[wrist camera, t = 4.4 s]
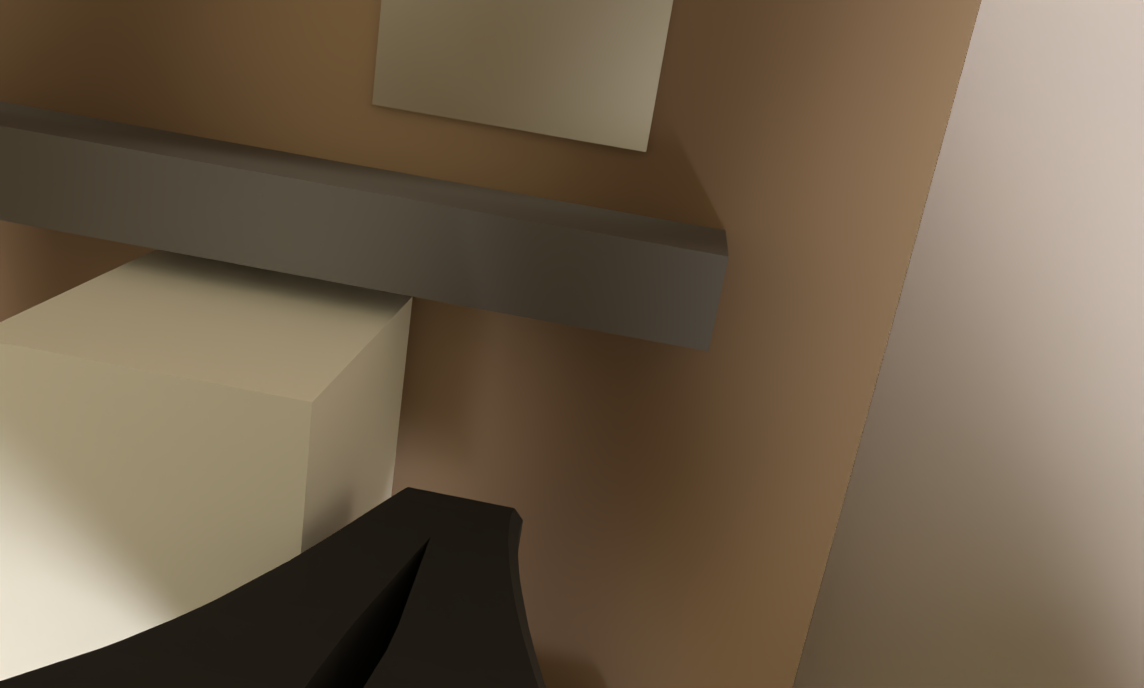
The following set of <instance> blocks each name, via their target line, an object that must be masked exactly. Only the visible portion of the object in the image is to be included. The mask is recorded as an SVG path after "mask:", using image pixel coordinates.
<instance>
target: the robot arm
mask: <svg viewBox="0 0 1144 688" xmlns="http://www.w3.org/2000/svg"><path fill="white" fill-rule="evenodd" d="M522 524H523V519H522V518H521V517H520V515H519V514H518V512H517V511H516V509H515V508H512V507H507V506H502V505H497V504H492V503H487V502H482V501H477V500H472V499H467V498H462V497H457V496H451V495H446V494H441V493H436V492H431V491H426V490H421V489H416V488H411V487H407V488H405V489H403V490H401V491H400V492H398V493H397V494H395V495H393V496H392V497H390V498H389V499H387V500H385V501H384V502H382V503H381V504H379V505H377V506H376V507H374V508H373V509H371V510H370V511H368V512H366V513H365V514H363V515H362V516H360V517H359V518H357V519H356V520H354V521H353V522H351V523H349V524H348V525H346V526H345V527H343V528H342V529H340V530H338V531H337V532H335V533H334V534H332V535H331V536H329V537H327V538H326V539H324V540H322V541H321V542H319V543H317V544H316V545H314V546H312V547H311V548H309V549H307V550H306V551H304V552H303V553H301V554H299V555H298V556H296V557H294V558H293V559H291V560H289V561H287V562H286V563H284V564H282V565H280V566H278V567H276V568H274V569H272V570H271V571H269V572H267V573H265V574H263V575H261V576H259V577H257V578H255V579H254V580H252V581H250V582H248V583H246V584H244V585H242V586H240V587H239V588H237V589H235V590H233V591H231V592H229V593H227V594H225V595H224V596H222V597H220V598H218V599H216V600H214V601H212V602H209V603H207V604H205V605H203V606H201V607H199V608H197V609H195V610H192V611H190V612H188V613H186V614H184V615H181V616H179V617H177V618H175V619H172V620H170V621H168V622H165V623H163V624H160V625H158V626H155V627H153V628H150V629H148V630H146V631H143V632H141V633H138V634H136V635H133V636H131V637H128V638H126V639H124V640H121V641H118V642H116V643H113V644H110V645H108V646H105V647H102V648H100V649H97V650H94V651H91V652H87V653H84V654H81V655H78V656H75V657H72V658H69V659H66V660H63V661H60V662H57V663H54V664H51V665H48V666H45V667H42V668H38V669H35V670H32V671H29V672H26V673H23V674H20V675H17V676H14V677H11V678H8V679H5V680H2V681H0V688H546V686H545V683H544V680H543V676H542V673H541V670H540V666H539V663H538V660H537V656H536V653H535V650H534V646H533V642H532V638H531V634H530V630H529V626H528V621H527V616H526V611H525V605H524V600H523V595H522V590H521V583H520V575H519V562H518V549H519V543H520V537H521V531H522Z"/></svg>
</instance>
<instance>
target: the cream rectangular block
mask: <svg viewBox="0 0 1144 688" xmlns="http://www.w3.org/2000/svg"><path fill="white" fill-rule="evenodd" d="M412 298H413V297H412V296H407V295H401V294H396V293H391V292H385V291H380V290H374V289H369V288H364V287H358V286H353V285H347V284H342V283H337V282H331V281H326V280H320V279H315V278H310V277H304V276H299V275H293V274H288V273H283V272H277V271H272V270H266V269H261V268H256V267H250V266H245V265H239V264H234V263H229V262H223V261H218V260H212V259H207V258H202V257H196V256H191V255H185V254H180V253H175V252H169V251H164V250H158V249H156V250H154V251H151V252H149V253H147V254H145V255H143V256H141V257H139V258H137V259H134V260H132V261H130V262H128V263H126V264H124V265H122V266H119V267H117V268H115V269H113V270H111V271H109V272H107V273H104V274H102V275H100V276H98V277H96V278H94V279H92V280H89V281H87V282H85V283H83V284H81V285H79V286H77V287H75V288H72V289H70V290H68V291H66V292H64V293H62V294H60V295H57V296H55V297H53V298H51V299H49V300H47V301H45V302H42V303H40V304H38V305H36V306H34V307H32V308H30V309H28V310H25V311H23V312H21V313H19V314H17V315H15V316H13V317H10V318H8V319H6V320H4V321H2V322H0V681H2V680H5V679H8V678H11V677H14V676H17V675H20V674H23V673H26V672H29V671H32V670H35V669H38V668H42V667H45V666H48V665H51V664H54V663H57V662H60V661H63V660H66V659H69V658H72V657H75V656H78V655H81V654H84V653H87V652H91V651H94V650H97V649H100V648H102V647H105V646H108V645H110V644H113V643H116V642H118V641H121V640H124V639H126V638H128V637H131V636H133V635H136V634H138V633H141V632H143V631H146V630H148V629H150V628H153V627H155V626H158V625H160V624H163V623H165V622H168V621H170V620H172V619H175V618H177V617H179V616H181V615H184V614H186V613H188V612H190V611H192V610H195V609H197V608H199V607H201V606H203V605H205V604H207V603H209V602H212V601H214V600H216V599H218V598H220V597H222V596H224V595H225V594H227V593H229V592H231V591H233V590H235V589H237V588H239V587H240V586H242V585H244V584H246V583H248V582H250V581H252V580H254V579H255V578H257V577H259V576H261V575H263V574H265V573H267V572H269V571H271V570H272V569H274V568H276V567H278V566H280V565H282V564H284V563H286V562H287V561H289V560H291V559H293V558H294V557H296V556H298V555H299V554H301V553H303V552H304V551H306V550H307V549H309V548H311V547H312V546H314V545H316V544H317V543H319V542H321V541H322V540H324V539H326V538H327V537H329V536H331V535H332V534H334V533H335V532H337V531H338V530H340V529H342V528H343V527H345V526H346V525H348V524H349V523H351V522H353V521H354V520H356V519H357V518H359V517H360V516H362V515H363V514H365V513H366V512H368V511H370V510H371V509H373V508H374V507H376V506H377V505H379V504H381V503H382V502H384V501H385V500H387V499H389V498H390V497H391V493H392V484H393V475H394V466H395V456H396V447H397V438H398V428H399V419H400V410H401V401H402V391H403V382H404V373H405V363H406V354H407V345H408V336H409V326H410V317H411V308H412Z"/></svg>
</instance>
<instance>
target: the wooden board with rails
mask: <svg viewBox="0 0 1144 688" xmlns="http://www.w3.org/2000/svg"><path fill="white" fill-rule="evenodd" d="M980 3H981V0H0V322H2V321H4V320H6V319H8V318H10V317H13V316H15V315H17V314H19V313H21V312H23V311H25V310H28V309H30V308H32V307H34V306H36V305H38V304H40V303H42V302H45V301H47V300H49V299H51V298H53V297H55V296H57V295H60V294H62V293H64V292H66V291H68V290H70V289H72V288H75V287H77V286H79V285H81V284H83V283H85V282H87V281H89V280H92V279H94V278H96V277H98V276H100V275H102V274H104V273H107V272H109V271H111V270H113V269H115V268H117V267H119V266H122V265H124V264H126V263H128V262H130V261H132V260H134V259H137V258H139V257H141V256H143V255H145V254H147V253H149V252H151V251H154V250H156V249H158V250H164V251H169V252H175V253H180V254H185V255H191V256H196V257H202V258H207V259H212V260H218V261H223V262H229V263H234V264H239V265H245V266H250V267H256V268H261V269H266V270H272V271H277V272H283V273H288V274H293V275H299V276H304V277H310V278H315V279H320V280H326V281H331V282H337V283H342V284H347V285H353V286H358V287H364V288H369V289H374V290H380V291H385V292H391V293H396V294H401V295H407V296H412V297H413V298H412V308H411V317H410V326H409V336H408V345H407V354H406V363H405V373H404V382H403V391H402V401H401V410H400V419H399V428H398V438H397V447H396V456H395V466H394V475H393V484H392V493H391V497H392V496H393V495H395V494H397V493H398V492H400V491H401V490H403V489H405V488H407V487H411V488H416V489H421V490H426V491H431V492H436V493H441V494H446V495H451V496H457V497H462V498H467V499H472V500H477V501H482V502H487V503H492V504H497V505H502V506H507V507H512V508H515V509H516V511H517V512H518V514H519V515H520V517H521V518H522V519H523V524H522V531H521V537H520V543H519V549H518V562H519V575H520V583H521V590H522V595H523V600H524V605H525V611H526V616H527V621H528V626H529V630H530V634H531V638H532V642H533V646H534V650H535V653H536V656H537V660H538V663H539V666H540V670H541V673H542V676H543V680H544V683H545V686H546V688H793V684H794V681H795V677H796V673H797V670H798V666H799V662H800V659H801V655H802V651H803V648H804V644H805V640H806V637H807V633H808V630H809V626H810V622H811V619H812V615H813V611H814V608H815V604H816V600H817V597H818V593H819V590H820V586H821V582H822V579H823V575H824V571H825V568H826V564H827V560H828V557H829V553H830V549H831V546H832V542H833V539H834V535H835V531H836V528H837V524H838V520H839V517H840V513H841V509H842V506H843V502H844V499H845V495H846V491H847V488H848V484H849V480H850V477H851V473H852V469H853V466H854V462H855V458H856V455H857V451H858V448H859V444H860V440H861V437H862V433H863V429H864V426H865V422H866V418H867V415H868V411H869V407H870V404H871V400H872V397H873V393H874V389H875V386H876V382H877V378H878V375H879V371H880V367H881V364H882V360H883V357H884V353H885V349H886V346H887V342H888V338H889V335H890V331H891V327H892V324H893V320H894V316H895V313H896V309H897V306H898V302H899V298H900V295H901V291H902V287H903V284H904V280H905V276H906V273H907V269H908V265H909V262H910V258H911V255H912V251H913V247H914V244H915V240H916V236H917V233H918V229H919V225H920V222H921V218H922V215H923V211H924V207H925V204H926V200H927V196H928V193H929V189H930V185H931V182H932V178H933V174H934V171H935V167H936V164H937V160H938V156H939V153H940V149H941V145H942V142H943V138H944V134H945V131H946V127H947V123H948V120H949V116H950V113H951V109H952V105H953V102H954V98H955V94H956V91H957V87H958V83H959V80H960V76H961V73H962V69H963V65H964V62H965V58H966V54H967V51H968V47H969V43H970V40H971V36H972V32H973V29H974V25H975V22H976V18H977V14H978V11H979V7H980Z"/></svg>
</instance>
